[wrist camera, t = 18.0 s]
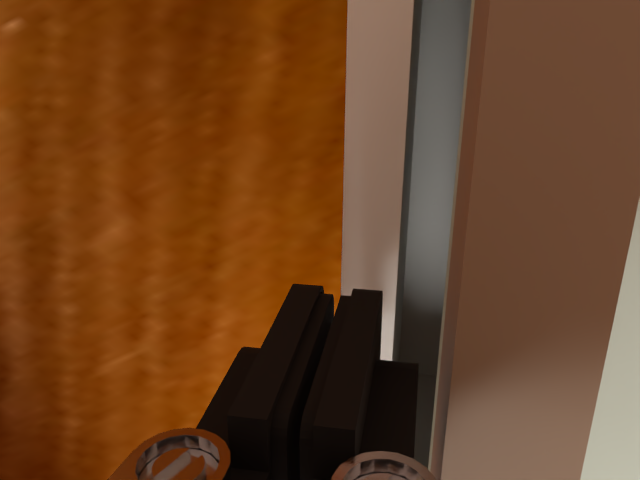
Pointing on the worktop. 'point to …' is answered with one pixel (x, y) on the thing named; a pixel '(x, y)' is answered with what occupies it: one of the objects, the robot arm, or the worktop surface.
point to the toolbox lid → (544, 249)
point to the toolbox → (403, 173)
